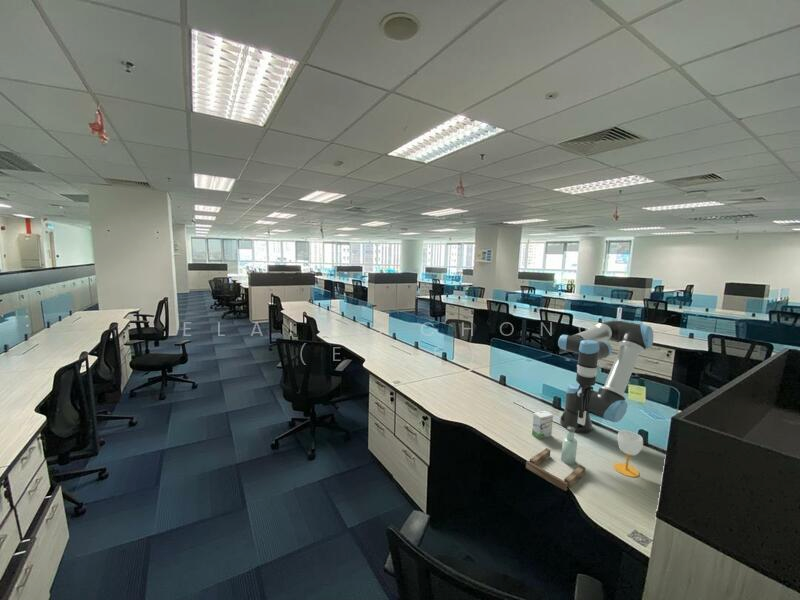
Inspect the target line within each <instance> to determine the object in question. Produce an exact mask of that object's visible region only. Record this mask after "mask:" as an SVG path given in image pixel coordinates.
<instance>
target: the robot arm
mask: <svg viewBox="0 0 800 600" xmlns="http://www.w3.org/2000/svg"><path fill="white" fill-rule="evenodd" d="M607 341H611V342H617V343H618V346H619V350H618V352H617V354H616V357H615V359H614V361H613V363H612V365H611V366H612V367H611V369H610V370H609V373H608V376H607V378H606V380H605V382H604V383H605V384H604V386H600V387H599V388H598V391H596V390H594V387H593V386H594V385H596V382H597V381H596V379H597V377H596V376H597V373H598V372H597V371H598V361H599V360H602V359H606V358H607V357H609V356H611V355H612V352H613V347H612V346H611V344H610V343H609V342H607ZM653 344H654V330H653V328H652V327H651V326H650V325H646V324H643V323H635V322H634V323H633V322H628V321H622V320H610V321H609V320H608V321H603V322H601V323H597V324H595V326H594V327H592V328H588V329H587V330H584V331H581V332H578V333H576V334H575V333H574V334H572V335H569V334H561V335H560V336H559V338H558V341H557V346H558V347H559V349H561V350H564V351H567V352H571V353H576V354H578V359H577V364H576V372H577V373H576V377H575V381H576V382H572V383H569V384H568V385H567V387H566V391H565V404H564V405H565V406H564V410H563V412H562V414H561V416H560V421H559V422H560V425H561V426H562V427H563V428H565V429H567V427H568V426H570V427H574V428H575V432H576V433H581V434H588V433H590V432H592V430H593V424H592V419H591V415H594V416H596V417H599V418H601V419H603V420H605V421H608V422H611V423H619V422H620V421H621V420H623V418H624V416H625V415H626V413H627V409H628V402H627V401H626V397H625V395H624V393H625V392H626V388H627V386H628V384H629V381H630V378H631V375H632V373H633V371H634V368H635V366H636V364H637V361H638V358H639V355H640V354H643V353H644V352H645V351H646V349H647V350H649V349H651V348H652V347H653ZM590 414H591V415H590ZM575 432H574V433H575Z"/></svg>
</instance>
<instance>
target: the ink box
mask: <svg viewBox="0 0 800 600" xmlns="http://www.w3.org/2000/svg"><path fill="white" fill-rule="evenodd" d="M532 415H533V418H532V431H531V432H532V433H531V434H532V436H534V437H535V438H536V439H538V440H542V439H545V438H548V437H552V431H553V420H554V414H553V413H551V412H549V411H547V410H542V411H535V412H534V413H533V414H532Z"/></svg>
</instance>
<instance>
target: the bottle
mask: <svg viewBox="0 0 800 600" xmlns="http://www.w3.org/2000/svg"><path fill="white" fill-rule="evenodd" d="M566 430H567V434H566V436H563V437H562V447H561V457H560V459H561V461H562V463H564V464H566V465H569V466H570V465H571V466H574V465H576V457H577V449H578V448H577V447H578V440H577V439H576V438H575V428H574V427H570V426H568V427H567V428H566Z"/></svg>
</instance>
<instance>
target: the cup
mask: <svg viewBox="0 0 800 600" xmlns="http://www.w3.org/2000/svg"><path fill="white" fill-rule="evenodd" d="M617 444H618V447H619V450H620V451H621V452H622V453H623V454H624V455H626V460H625V463H624V462H617V463H614V464H613V467H614V470H616V472H618V473H619V474H621V475H624V476H626V477H630V478H637V477H639V476H640V472H639V470H638V469H637V468H635V467H633V465H629V460H630V457H634V456H637V455H638V454H639V453H641V451H642V449H643V446H644V439H643V437H642V435H640V434H638V433H636V432H634V431H630V430H626V429H622V430H619V431H618V432H617Z"/></svg>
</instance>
